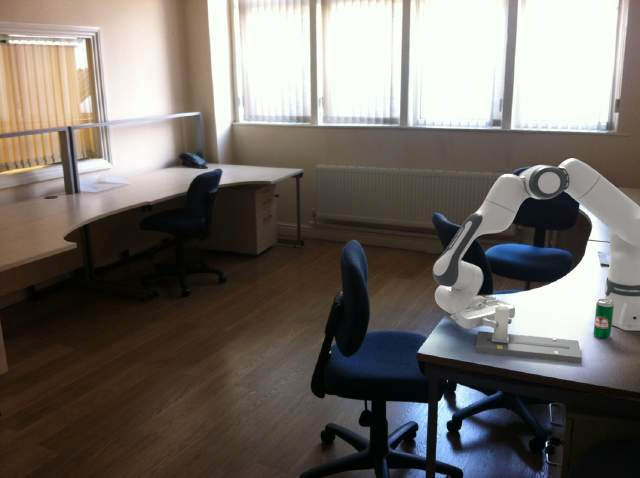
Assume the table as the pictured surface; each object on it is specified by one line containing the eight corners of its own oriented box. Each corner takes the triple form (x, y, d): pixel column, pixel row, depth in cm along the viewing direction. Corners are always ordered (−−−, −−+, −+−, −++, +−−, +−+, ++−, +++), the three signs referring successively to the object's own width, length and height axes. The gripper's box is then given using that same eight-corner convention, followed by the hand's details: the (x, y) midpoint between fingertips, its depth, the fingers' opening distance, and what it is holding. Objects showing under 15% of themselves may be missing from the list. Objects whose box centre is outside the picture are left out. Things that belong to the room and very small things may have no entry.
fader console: (577, 346, 196) (578, 339, 196) (581, 363, 185) (581, 356, 184) (477, 336, 205) (478, 330, 204) (475, 352, 194) (475, 345, 193)
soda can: (590, 336, 203) (594, 301, 200) (597, 331, 207) (600, 297, 203) (606, 341, 200) (610, 305, 197) (613, 336, 203) (616, 300, 200)
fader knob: (508, 336, 198) (510, 306, 195) (508, 343, 193) (510, 312, 191) (492, 334, 199) (493, 305, 197) (491, 341, 195) (493, 310, 192)
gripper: (447, 306, 200) (477, 320, 189) (496, 294, 210) (528, 307, 198) (447, 324, 202) (476, 340, 190) (495, 312, 211) (526, 326, 200)
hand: (503, 323), depth 194 cm, fingers closed on fader knob, 4 cm apart
